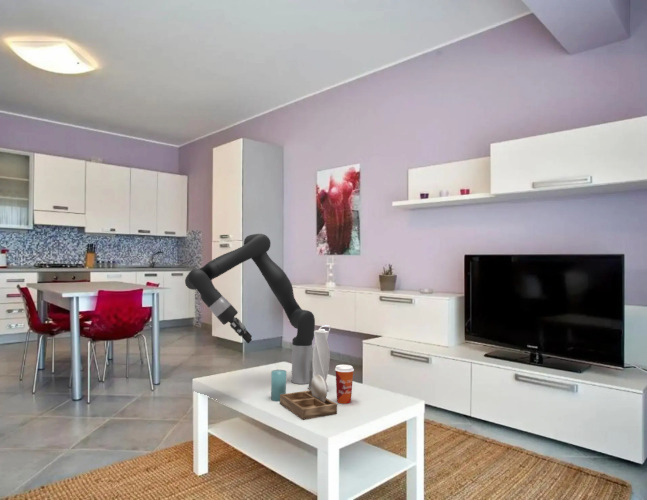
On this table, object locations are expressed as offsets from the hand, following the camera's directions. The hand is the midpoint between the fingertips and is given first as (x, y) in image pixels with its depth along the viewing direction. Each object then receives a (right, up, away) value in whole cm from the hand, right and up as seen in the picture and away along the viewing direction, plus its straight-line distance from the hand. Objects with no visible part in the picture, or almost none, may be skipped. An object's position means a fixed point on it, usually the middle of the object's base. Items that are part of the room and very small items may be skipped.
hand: (250, 339), depth 178 cm
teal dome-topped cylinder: (+11, -24, +1) cm, 27 cm away
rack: (+23, -24, -10) cm, 35 cm away
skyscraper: (+28, -25, +14) cm, 40 cm away
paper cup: (+38, -25, -1) cm, 45 cm away
